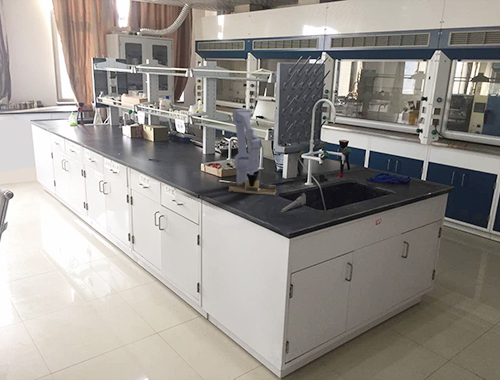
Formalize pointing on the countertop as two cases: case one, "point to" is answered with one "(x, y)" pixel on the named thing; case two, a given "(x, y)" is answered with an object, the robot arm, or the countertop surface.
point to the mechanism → (241, 188)
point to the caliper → (296, 202)
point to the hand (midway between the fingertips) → (252, 184)
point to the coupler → (256, 186)
